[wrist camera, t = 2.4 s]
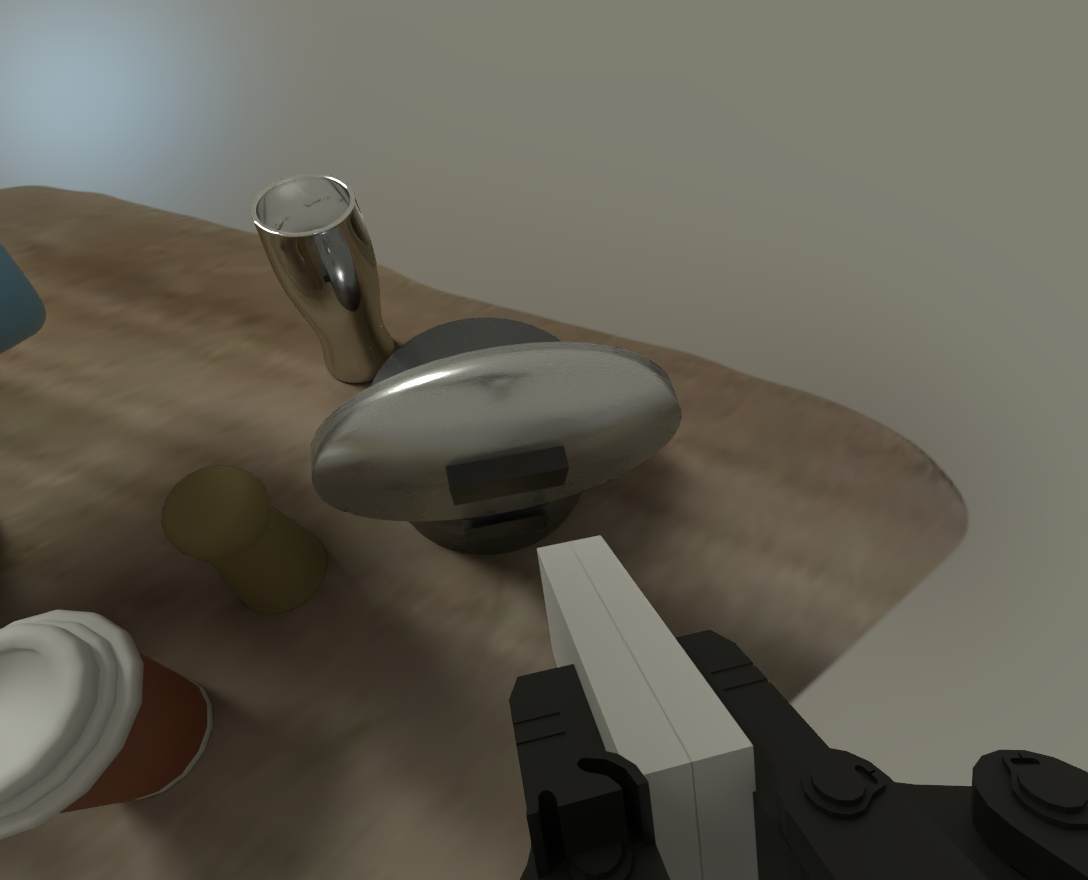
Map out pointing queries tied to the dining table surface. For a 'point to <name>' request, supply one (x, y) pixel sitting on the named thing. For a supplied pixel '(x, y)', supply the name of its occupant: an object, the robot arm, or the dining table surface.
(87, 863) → the dining table surface
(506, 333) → the cooker pot
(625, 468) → the lid
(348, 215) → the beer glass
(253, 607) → the cork
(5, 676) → the coffee cup
